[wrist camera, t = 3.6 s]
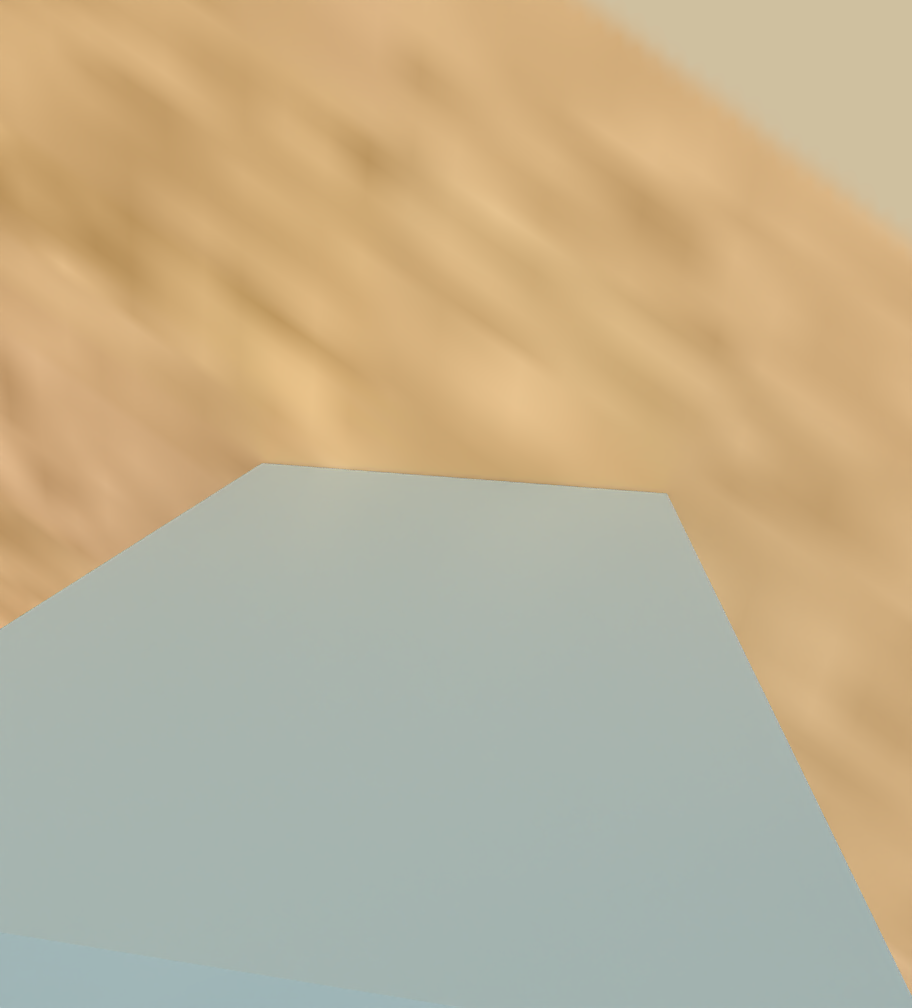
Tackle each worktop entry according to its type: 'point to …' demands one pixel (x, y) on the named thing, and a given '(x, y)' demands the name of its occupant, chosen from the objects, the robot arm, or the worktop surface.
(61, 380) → the worktop surface
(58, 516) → the worktop surface
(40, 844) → the light blue block
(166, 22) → the worktop surface
